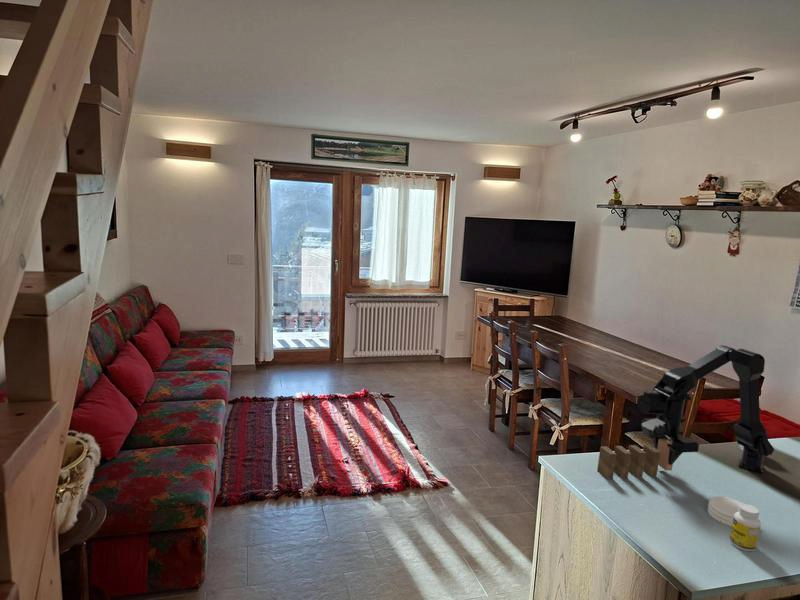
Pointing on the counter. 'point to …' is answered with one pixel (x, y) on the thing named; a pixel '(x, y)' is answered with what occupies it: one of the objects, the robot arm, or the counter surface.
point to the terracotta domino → (664, 454)
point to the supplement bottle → (745, 528)
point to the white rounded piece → (723, 509)
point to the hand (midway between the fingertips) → (664, 460)
